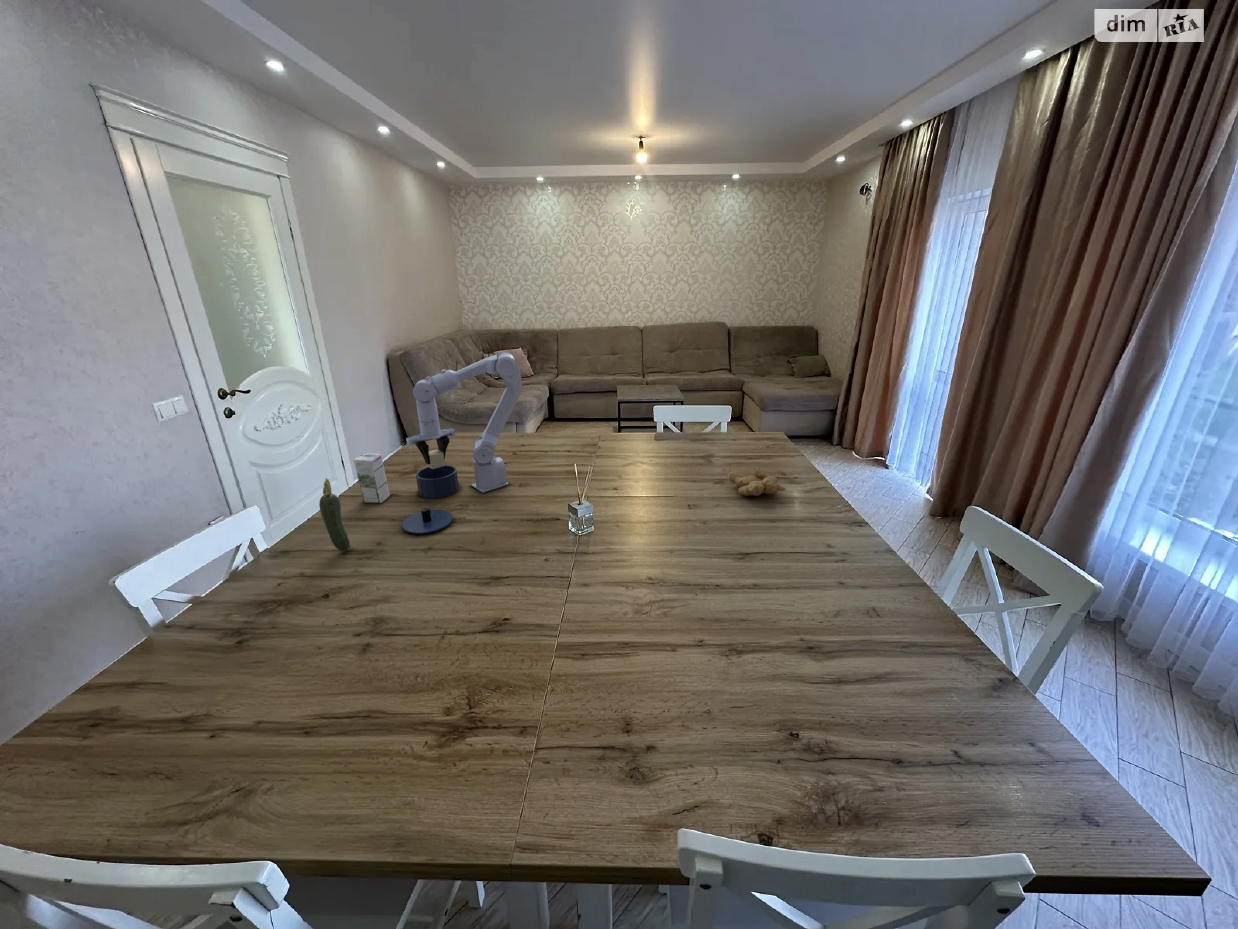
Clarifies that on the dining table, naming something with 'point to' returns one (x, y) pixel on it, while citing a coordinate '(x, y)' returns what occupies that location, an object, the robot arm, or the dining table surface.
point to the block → (436, 459)
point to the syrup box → (372, 478)
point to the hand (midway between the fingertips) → (435, 461)
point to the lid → (427, 521)
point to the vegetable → (333, 518)
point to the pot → (437, 481)
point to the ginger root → (755, 483)
